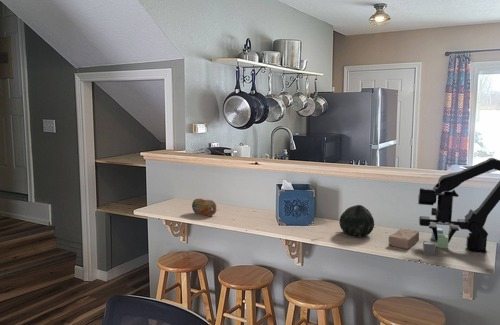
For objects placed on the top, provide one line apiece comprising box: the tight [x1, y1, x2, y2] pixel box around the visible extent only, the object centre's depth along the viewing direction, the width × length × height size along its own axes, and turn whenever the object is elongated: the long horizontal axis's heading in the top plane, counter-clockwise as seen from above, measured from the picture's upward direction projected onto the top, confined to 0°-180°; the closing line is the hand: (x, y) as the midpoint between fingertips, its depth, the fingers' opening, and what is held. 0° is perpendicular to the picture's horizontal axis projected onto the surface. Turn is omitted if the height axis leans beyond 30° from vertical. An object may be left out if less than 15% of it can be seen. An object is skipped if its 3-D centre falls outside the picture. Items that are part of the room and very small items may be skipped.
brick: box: [388, 227, 420, 250], centre depth 186 cm, size 17×8×5 cm, turn 143°
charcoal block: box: [422, 240, 436, 256], centre depth 173 cm, size 4×4×4 cm
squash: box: [338, 204, 375, 238], centre depth 196 cm, size 14×15×15 cm
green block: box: [435, 233, 449, 249], centre depth 182 cm, size 4×4×4 cm
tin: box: [191, 198, 217, 217], centre depth 229 cm, size 15×3×8 cm, turn 55°
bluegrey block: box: [431, 227, 444, 241], centre depth 191 cm, size 4×4×4 cm
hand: (442, 242), depth 182 cm, fingers closed on green block, 4 cm apart
